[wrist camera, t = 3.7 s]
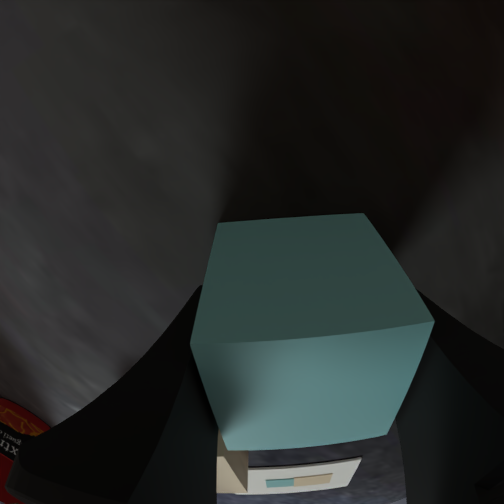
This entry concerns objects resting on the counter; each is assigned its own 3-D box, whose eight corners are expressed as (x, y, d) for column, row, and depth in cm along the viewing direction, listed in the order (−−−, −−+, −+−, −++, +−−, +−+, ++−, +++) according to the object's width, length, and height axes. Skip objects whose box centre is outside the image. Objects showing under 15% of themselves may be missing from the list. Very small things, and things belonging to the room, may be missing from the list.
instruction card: (361, 456, 19) (361, 460, 18) (346, 484, 22) (347, 486, 22) (223, 467, 19) (223, 471, 19) (235, 492, 23) (235, 495, 22)
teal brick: (363, 212, 9) (434, 320, 5) (352, 322, 12) (386, 434, 7) (218, 223, 10) (189, 344, 5) (235, 331, 12) (227, 450, 8)
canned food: (51, 417, 17) (10, 540, 8) (73, 456, 21) (47, 551, 12) (-22, 381, 17) (-71, 483, 7) (8, 426, 20) (-24, 512, 11)
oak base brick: (228, 394, 14) (223, 456, 11) (248, 444, 17) (247, 492, 14) (120, 394, 15) (104, 447, 12) (160, 443, 18) (151, 487, 15)
